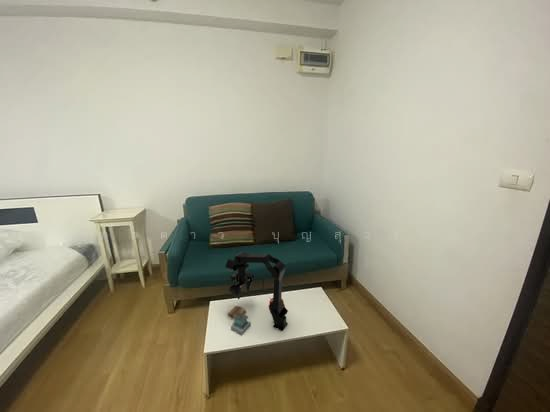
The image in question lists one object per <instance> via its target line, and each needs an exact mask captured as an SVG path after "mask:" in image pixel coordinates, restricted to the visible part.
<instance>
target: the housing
mask: <svg viewBox="0 0 550 412" xmlns="http://www.w3.org/2000/svg"><path fill="white" fill-rule="evenodd" d="M248 318H249V317H248V316H247V315H246V314H241V313H239V312H238V313H237V314H236V315H235V316H234V317H233V319H232V320H234V322H233V323H232V325H235V326H237V327H239V328H241V329H244V328H245V327H246V326H247V325H248V322H247V321H248Z"/></svg>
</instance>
